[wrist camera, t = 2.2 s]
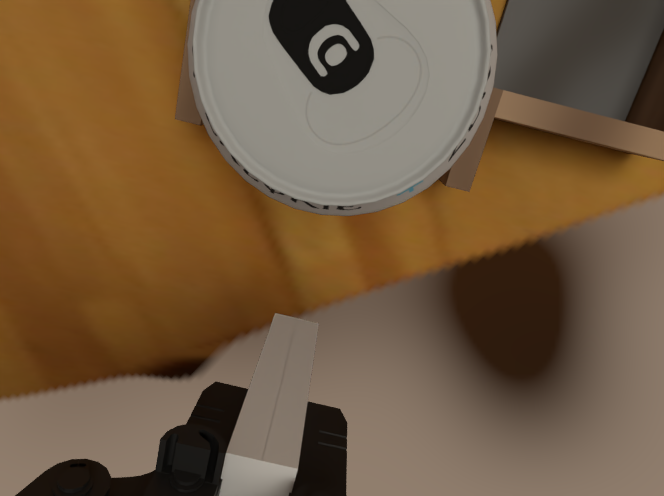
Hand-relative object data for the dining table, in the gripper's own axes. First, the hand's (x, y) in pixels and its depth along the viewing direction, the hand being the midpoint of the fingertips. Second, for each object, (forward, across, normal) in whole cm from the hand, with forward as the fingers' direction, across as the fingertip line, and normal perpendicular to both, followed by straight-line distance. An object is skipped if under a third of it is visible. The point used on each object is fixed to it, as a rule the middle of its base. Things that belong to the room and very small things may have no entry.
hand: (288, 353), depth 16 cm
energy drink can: (+9, 0, +9) cm, 13 cm away
